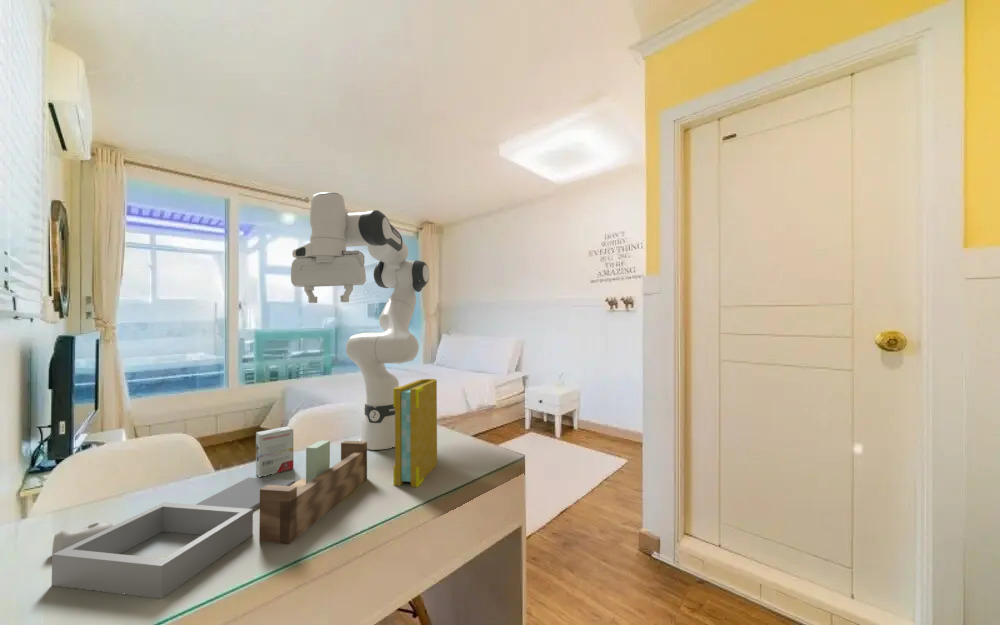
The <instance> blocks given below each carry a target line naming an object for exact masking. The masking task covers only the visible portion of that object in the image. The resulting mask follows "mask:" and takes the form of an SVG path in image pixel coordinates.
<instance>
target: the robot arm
mask: <svg viewBox="0 0 1000 625" xmlns="http://www.w3.org/2000/svg"><path fill="white" fill-rule="evenodd" d="M310 203H311V204H310V210H309V211H310V212H309V213H310V215H309V222H310V223H309V224H310V228H311V234H310V238H309V239H310V240H309V243H306V244H305V245H303V246H300V247H298V248H295V249H292V250H293V251H292V257H293V258H294V259H293V261H292V262H291V269H290V282H291V284H292V285H293V286H294V287H296V288H297V287H299V288H303V289H304V292H305V293H306V295H307V297H308V303H309V304H317V303H318V296H315V294H314V292H313V291H315V287H337V286H338V287H340V286H341V287H342V286H343V289H345V290H344V292H343V295H340V297H339V298H340V300H339V301H340V302H341V303H349V302H350V296H351V294H352V292H353V290H354V286H360V285H361V286H363V285H365V284H366V281H367V276H366V275H367V274H366V267H365V261H366V260H365V255H364V254H363V252H361V251H360V250H347V248H348V247H351V248H352V247H367V250H368V253H369V255H370V256H371V257H372V258H373V259H375V261H378V262H377V264H376V265H375V267H374V269H373V279H374V282H375V283H376V285H377V286H378V287H380V288H383V289H389V288H390V289H393V292H392V293H391V295H390V296H389V298H388V299H387V301H386V303H385V305H384V307H383V309H382V311H381V313H380V315H379V318H378V320H379V326H380V327H381V329H382V330H383V331H382V332H376V331H375V332H367V331H366V332H361V333H357V334H354V335H350V337H349V339H348V340H347V342H346V346H345V351H346V355H347V357H348V358H349V360H351V361H352V362H353V363H354V364H355V365H356V366H357V367H358V369H359V370H360V373H361V374H362V377H363V380H364V384H365V385H364V386H365V404H364V409H363V411H364V415H365V416H364V417H363V418H362V419H361V425H360V426H361V427H360V435H359V438H357V440H356V441H366V442H367V450H370V451H371V450H372V451H373V450H374V451H375V450H376V451H377V450H387V449H393V448H395V407H393V389H394V388H397V387H399V386H400V382H399V380H398V378H397V377H396V376H395V375H394V374H392V373H390V372H389V371H388V370H387V368H386V366H385V364H403V363H408V362H412V361H414V360H415V359H416V357H417V355H418V353H419V342H418V339H417V338H416V336H415V335H414V334H412V333H411V332H410V330H409V326H410V323H411V321H412V320H411V319H412V317H413V315H414V311H415V308H416V303H417V296H416V292H417V293H420V292H421V291H423V290H422V289H423V288H425V286H427V283H428V282H429V279H430V271H429V270H430V269H429V266H428V264H427V263H426V262H424V261H423V260H407V259H408V256H409V247H408V246H407V244H406V242H405V241H404V240H403V237H402V234H401V233H400V232H399V231H398V229H397V228H395V227H394V225H393V224H392V223H390V220H389V218H388V217H387V216H386V214H384V213H383V212H382V211H380V210H378V209H374V210H368V211H361V212H349V211H348V210H347V209H346V207H345V200H344V196H343V195H342V194H340V193H337V192H318V193H316V194H314V195H313V196H312V199H311V202H310ZM392 447H393V448H392Z"/></svg>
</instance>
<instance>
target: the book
mask: <svg viewBox="0 0 1000 625" xmlns="http://www.w3.org/2000/svg"><path fill="white" fill-rule="evenodd" d="M437 381H438V380H437V379H435V378H422V379H417V380H415V381H412V382H410V383H407V384H404V385H399V387H397V388H394V389H393V407H395V447H394V456H395V458H394V466H393V486H397V487H399V486H400V487H401V486H402V485H403V484H404V483H405V482H409V483H410V487H411V488H418V487H420V485H421V484H422V483H423V482H424V481H425V478H426V477H427V476H428V475H429V474H430V473H431V472H432V471H433V470H434V469H435V468H436V467H437V466H438V403H437V402H438V401H437V400H438V399H437V398H438V396H437V394H438V392H437V390H438V389H437V388H438V387H437Z"/></svg>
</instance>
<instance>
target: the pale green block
mask: <svg viewBox="0 0 1000 625" xmlns="http://www.w3.org/2000/svg"><path fill="white" fill-rule="evenodd" d="M330 447H331V441H330V440H318V441H316V442H314V443H313V444H311V445H309V446H307V447H305V448H306V449H305V454H306V455H305V479H306V484H307V483H309V482H310V481H312V480H313V479H315V478H316V477H318V476H319V475H321V474H322V473H324V472H325V471H327V470H328V469H330V468H331V464H330V463H331V462H330V461H331V459H330V456H331V453H330V452H331V448H330Z"/></svg>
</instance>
